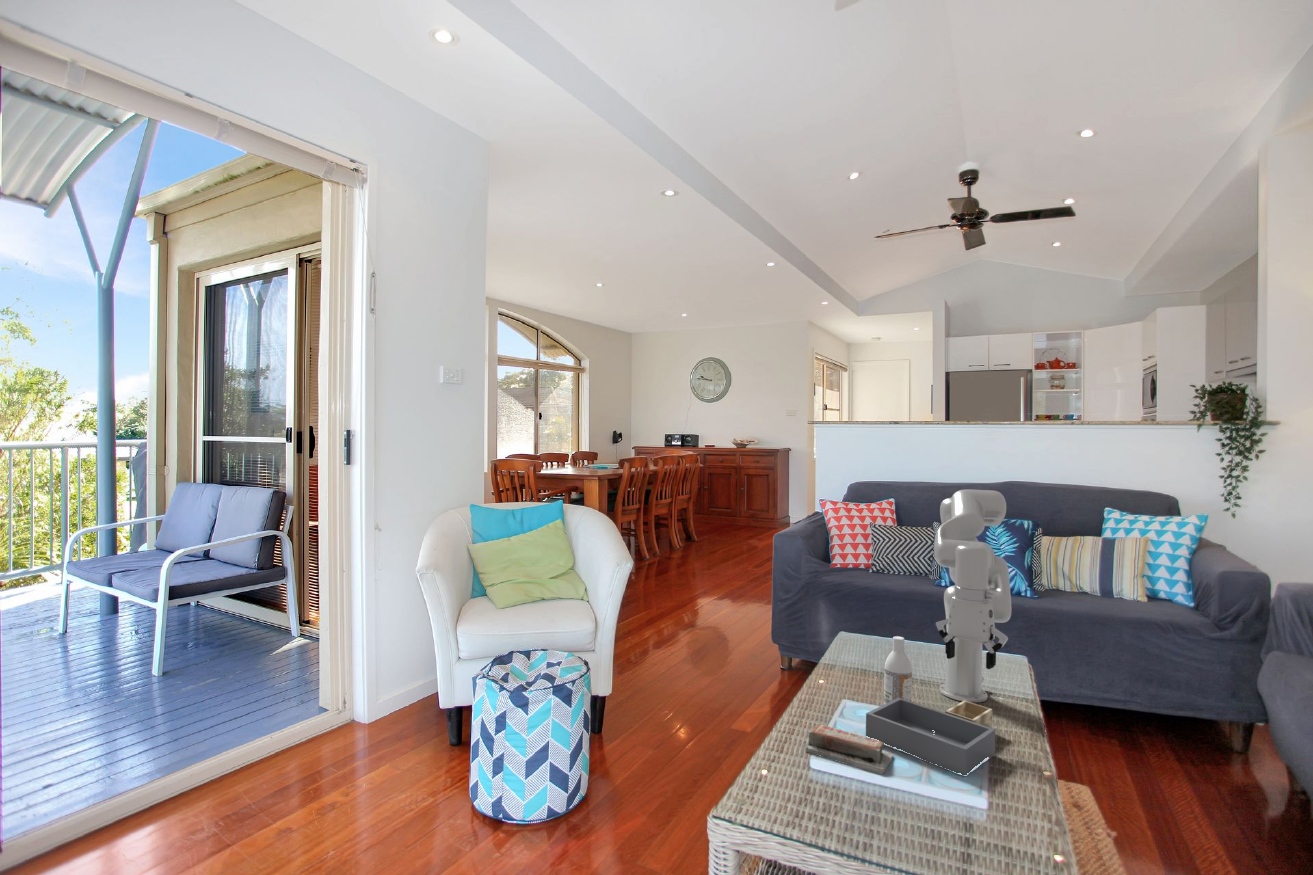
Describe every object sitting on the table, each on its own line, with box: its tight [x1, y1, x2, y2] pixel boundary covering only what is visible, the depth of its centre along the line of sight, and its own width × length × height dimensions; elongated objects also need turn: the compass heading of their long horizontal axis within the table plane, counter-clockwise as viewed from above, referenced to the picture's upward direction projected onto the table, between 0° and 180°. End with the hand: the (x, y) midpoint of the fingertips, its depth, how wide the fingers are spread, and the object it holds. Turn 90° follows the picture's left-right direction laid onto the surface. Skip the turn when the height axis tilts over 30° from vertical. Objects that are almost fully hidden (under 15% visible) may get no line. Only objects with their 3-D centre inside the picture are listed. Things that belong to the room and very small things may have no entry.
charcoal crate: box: [865, 698, 996, 775], centre depth 155 cm, size 16×24×6 cm, turn 41°
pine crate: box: [944, 701, 993, 728], centre depth 162 cm, size 11×7×6 cm, turn 131°
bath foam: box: [883, 635, 913, 705], centre depth 175 cm, size 7×7×20 cm
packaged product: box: [804, 724, 894, 775], centre depth 150 cm, size 18×5×10 cm
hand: (969, 662), depth 162 cm, fingers open, 9 cm apart
